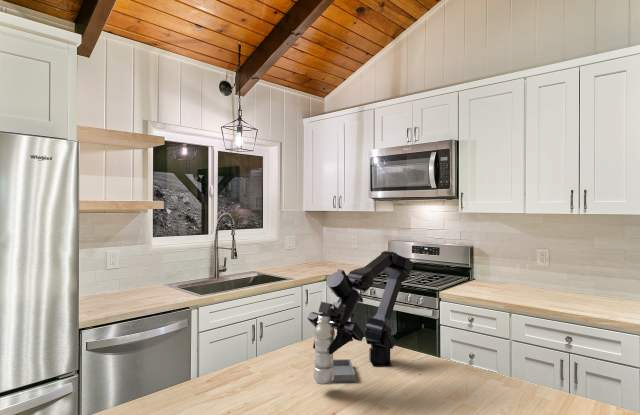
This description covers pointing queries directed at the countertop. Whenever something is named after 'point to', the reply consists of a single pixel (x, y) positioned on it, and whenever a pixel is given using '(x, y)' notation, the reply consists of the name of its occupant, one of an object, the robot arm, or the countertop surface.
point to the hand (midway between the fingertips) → (321, 351)
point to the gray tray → (344, 371)
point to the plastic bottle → (323, 350)
